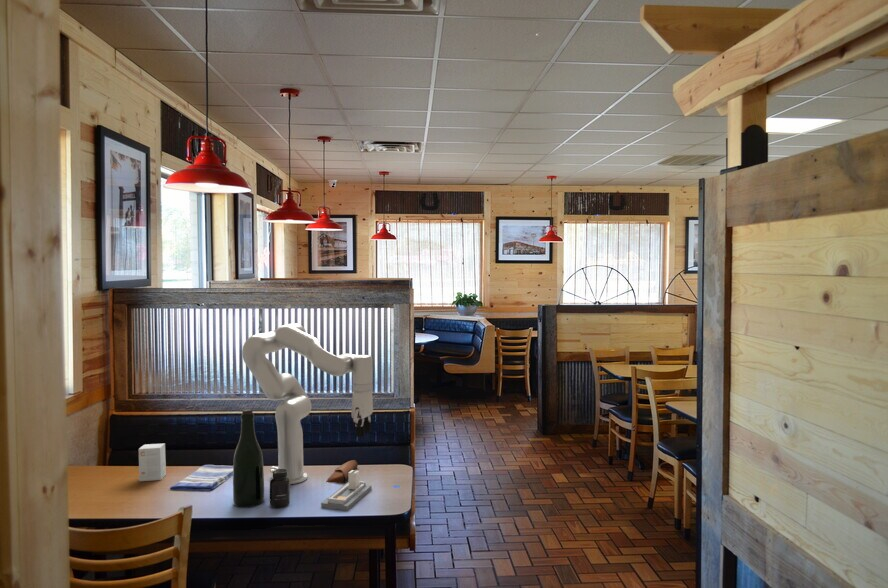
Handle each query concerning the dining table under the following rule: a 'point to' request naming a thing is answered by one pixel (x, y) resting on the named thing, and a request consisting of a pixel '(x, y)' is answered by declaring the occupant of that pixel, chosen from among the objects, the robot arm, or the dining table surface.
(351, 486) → the fader knob
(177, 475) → the dining table surface
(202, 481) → the dish towel
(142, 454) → the small box
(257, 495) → the beer bottle
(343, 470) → the sunglasses case
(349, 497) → the fader console
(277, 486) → the supplement bottle
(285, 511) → the dining table surface
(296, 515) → the dining table surface
